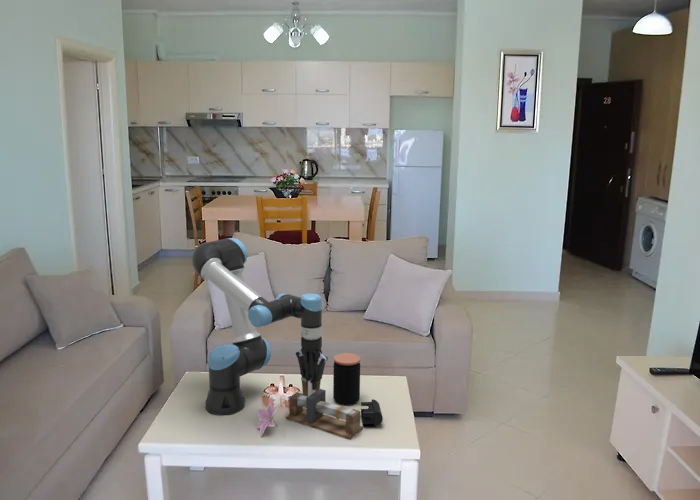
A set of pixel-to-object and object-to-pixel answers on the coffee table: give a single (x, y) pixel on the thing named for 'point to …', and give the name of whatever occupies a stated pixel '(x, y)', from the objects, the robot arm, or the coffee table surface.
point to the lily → (266, 418)
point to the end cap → (371, 414)
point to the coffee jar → (346, 378)
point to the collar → (310, 405)
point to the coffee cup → (304, 388)
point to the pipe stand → (326, 417)
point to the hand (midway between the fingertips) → (311, 396)
